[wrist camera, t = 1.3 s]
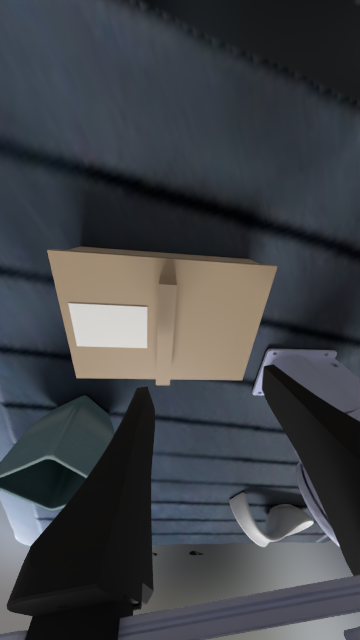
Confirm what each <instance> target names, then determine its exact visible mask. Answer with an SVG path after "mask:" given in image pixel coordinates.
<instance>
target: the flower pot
mask: <svg viewBox="0 0 360 640" xmlns="http://www.w3.org/2000/svg"><path fill="white" fill-rule="evenodd" d="M113 436H114V429H113V426H112V423H111V420H110V417H109V415H108V413H107V412H105V411H104V410H103V409H102V408H101V407H99V406H98V405H97V404H96V403H95V402H93V401H92V400H91V399H90V398H89V397H88V396H85V395H84V396H81V397H79V398H77V399H75V400H72V401H70V402H68V403H66V404H64V405H62V406H60V407H58V408H56V409H55V410H53V411H51V412H50V413H48V414H47V415H45V416H44V417H43V418H41V419H40V420H39V421H38V422H36V423H35V424H34V425H33V426H32V427H31V428H30V429H29V430H28V431H27V432H26V433H25V434H24V435H23V436H22V437H21V438H20V439H19V440H18V442H17V443H16V444H15V445H14V446H13V448H12V449H11V450H10V451H9V452H8V454H7V455H6V456H5V457H4V458H3V460H2V461H1V462H0V490H1V491H3V492H6V493H8V494H10V495H13V496H15V497H18V498H20V499H23V500H25V501H28V502H30V503H33V504H35V505H37V506H40V507H42V508H44V509H47V510H51V511H53V510H57V509H60V508H63V507H65V505H66V504H67V503H68V502H69V500H70V499H71V498H72V496H73V495H74V494H75V493H76V491H77V490H78V489H79V487H80V486H81V485H82V483H83V482H84V481H85V479H86V478H87V477H88V475H89V474H90V472H91V471H92V469H93V468H94V466H95V465H96V464H97V462H98V461H99V459H100V458H101V456H102V454H103V453H104V451H105V450H106V448H107V446H108V445H109V443H110V441H111V440H112V438H113Z"/></svg>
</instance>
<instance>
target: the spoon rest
mask: <svg viewBox="0 0 360 640" xmlns="http://www.w3.org/2000/svg"><path fill="white" fill-rule="evenodd" d="M229 503H230V506H231V509H232V512H233V514H234V516H235V518H236V520H237V522H238V523H239V525H240V526H241V528H242V529H243V531H244V532H245V533H246V534H247V535H248V536H249V538H250V539H251V540H252V541H254V542H255V543H256V544H257V545H259V546H261V547H266V546H267V545H268V543H269V542H270V541H271V542H274V541H278V540H280V539H282V538H284V537H285V536H288V535H292V534H294V533H297V532H299V531H302V530H304V529H306V528H308V527H309V526H311V525H312V524H313V523H314V521H313V519H312V518H311V517H310V516H309V515H308V514H307V513H306V512H304V511H303V510H301V509H299V508H297V507H294V506H293V505H290V504H282V505H278V506H275V507H273V508H271V509H270V511H269V514H268V516H267V519H266V523H265V533H264V532H263V531H262V530H261V529H260V528H259V527H258V526H257V524H256V522H255V521H254V519H253V517H252V514H251V512H250V509H249V506H248V502H247V499H246V496H245V493H244V492H242V493H240V494H238V495H236V496H235V497H233V498H232V499H230V500H229Z"/></svg>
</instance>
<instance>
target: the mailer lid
mask: <svg viewBox="0 0 360 640" xmlns="http://www.w3.org/2000/svg"><path fill="white" fill-rule="evenodd" d="M47 252H48V256H49V260H50V265H51V269H52V273H53V278H54V282H55V287H56V291H57V295H58V300H59V304H60V308H61V313H62V317H63V321H64V326H65V330H66V334H67V339H68V343H69V347H70V352H71V356H72V360H73V365H74V369H75V373H76V378H105V379H156V385H170V379H187V380H242V379H243V376H244V373H245V369H246V366H247V363H248V360H249V356H250V353H251V350H252V347H253V344H254V340H255V337H256V334H257V331H258V327H259V324H260V321H261V318H262V315H263V311H264V308H265V305H266V302H267V298H268V295H269V292H270V289H271V286H272V282H273V279H274V276H275V273H276V269H277V266H275V265H269V264H255V263H241V262H227V261H213V260H199V259H185V258H171V257H158V256H144V255H130V254H116V253H102V252H88V251H74V250H60V249H49V250H47Z"/></svg>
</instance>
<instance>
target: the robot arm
mask: <svg viewBox="0 0 360 640" xmlns="http://www.w3.org/2000/svg"><path fill="white" fill-rule="evenodd" d="M274 352H275V353H274ZM336 356H337V352H336V351H334V350H306V349H268V350H267V351H266V354H265V356H264V359H263V362H262V365H261V368H260V370H259V373H258V376H257V379H256V382H255V384H254V387H253V390H252V393H253V394H254V395H264V396H265V398H266V400H267V402H268V404H269V406H270V408H271V410H272V411H273V413H274V415H275V416H276V418H277V420H278V421H279V423H280V425H281V426H282V428H283V430H284V431H285V433H286V434H287V436H288V438H289V439H290V441H291V443H292V445H293V446H294V448H295V450H294V452H295V453H296V455H297V457H298V459H299V461H300V462H299V463H298V464H297V466H296V475H297V481H298V485H299V489H300V491H301V494H302V496H303V498H304V501H305V503H306V504H307V506H308V508H309V510H310V512H311V513H312V515H313V516H314V518H315V519H316V521H317V522H318V524H319V525H320V526H321V528H322V529H323V530H324V532H325V533H326V534H327V535H328V536H329V537H330V538H331V540H333V542H335V543H336V544H337V545H338V546H339V547H340V548H341V550H342V553H343V555H344V557H345V560H346V562H347V564H348V566H349V568H350V570H351V572H352V574H353V575H354V576H352V577H347V578H341V579H335V580H330V581H324V582H318V583H313V584H307V585H302V586H296V587H291V588H285V589H279V590H274V591H268V592H263V593H257V594H251V595H246V596H240V597H235V598H229V599H223V600H218V601H212V602H207V603H202V604H195V605H190V606H185V607H179V608H173V609H167V610H162V611H156V612H151V613H145V614H140V615H134V616H133V611H134V610H140V609H141V606H142V605H144V604H147V603H148V601H149V599H150V597H151V595H152V593H153V570H152V532H151V468H152V456H153V444H154V431H155V409H154V405H153V402H152V399H151V396H150V393H149V390H148V387H141V388H137V389H136V391H135V394H134V396H133V398H132V401H131V403H130V405H129V407H128V409H127V411H126V413H125V415H124V417H123V419H122V421H121V423H120V425H119V427H118V429H117V431H116V432H115V434H114V436H113V438H112V440H111V441H110V443H109V445H108V446H107V448H106V450H105V451H104V453H103V454H102V456H101V458H100V459H99V461H98V462H97V464H96V465H95V466H94V468H93V469H92V471H91V472H90V474H89V475H88V477H87V478H86V479H85V481H84V482H83V483H82V485H81V486H80V487H79V489H78V490H77V491H76V493H75V494H74V495H73V496H72V498H71V499H70V500H69V502H68V503H67V504H66V505H65V507H64V508H63V509H62V510H61V512H60V513H59V514H58V515H57V516H56V518H55V519H54V520H53V521H52V522H51V523H50V525H49V526H48V527H47V528H46V529H45V530H44V532H43V533H42V534H41V535H40V536H39V537H38V539H37V540H36V541H35V542H34V543H33V544H32V545H31V547H30V550H29V552H28V554H27V556H26V558H25V560H24V563H23V565H22V568H21V570H20V573H19V575H18V578H17V580H16V583H15V586H14V588H13V591H12V593H11V595H10V598H9V600H8V603H7V609H8V610H9V611H11V612H14V613H19V614H24V615H29V616H33V617H32V620H31V623H30V626H29V629H28V631H16V632H10V633H5V634H0V640H206V639H211V638H217V637H222V636H228V635H233V634H239V633H245V632H250V631H256V630H261V629H267V628H273V627H278V626H283V625H289V624H294V623H300V622H306V621H311V620H317V619H323V618H328V617H334V616H339V615H345V614H350V613H356V612H360V379H359V378H358V377H357V376H355V375H354V374H353V373H352V372H350V371H349V370H348V369H347V368H346V367H344V366H343V365H342V364H341V363H339V362H338V361H337V360H336V359H335V357H336ZM344 636H345V638H346V640H360V626H359V627H357V628H353V629H348V630H344Z"/></svg>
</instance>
